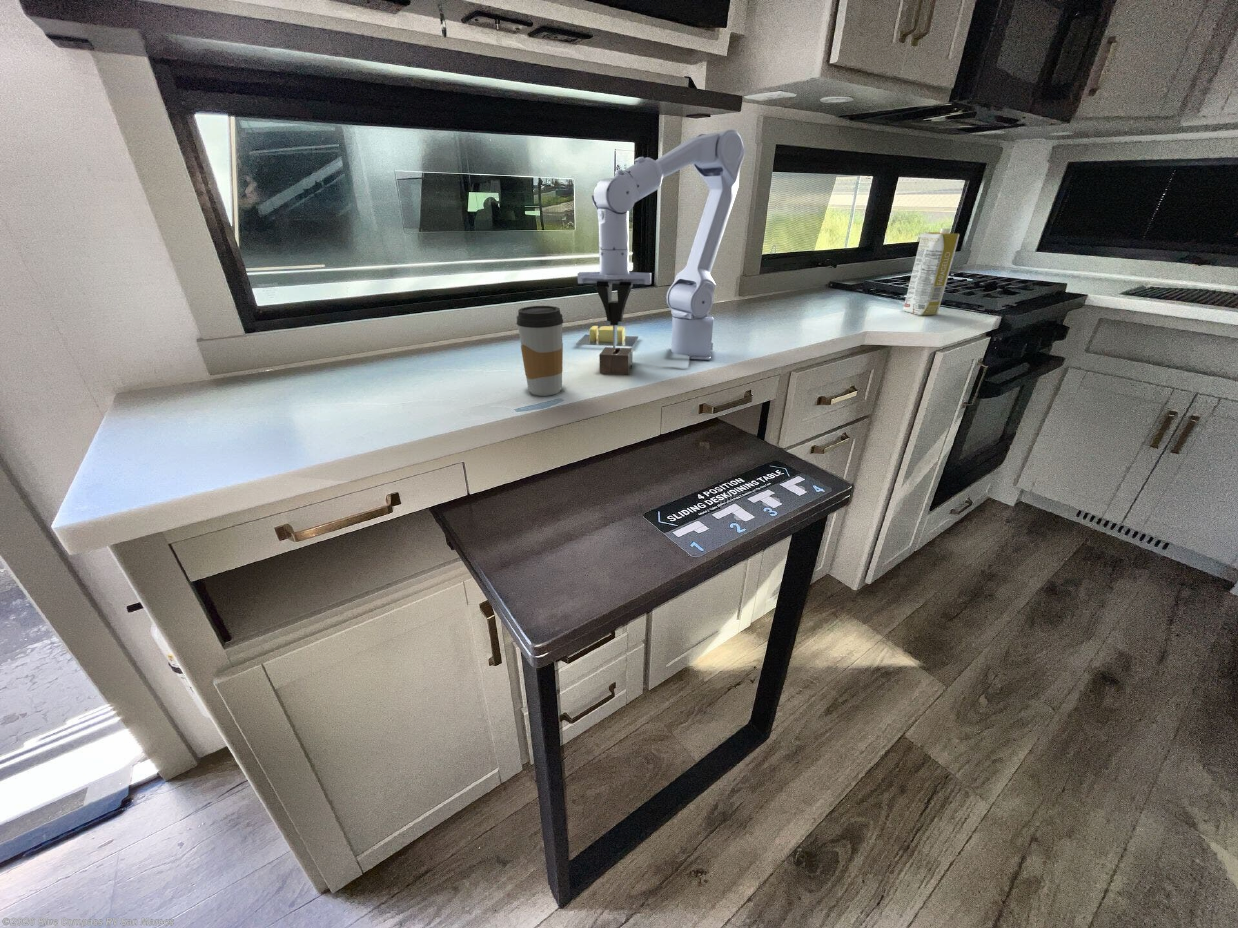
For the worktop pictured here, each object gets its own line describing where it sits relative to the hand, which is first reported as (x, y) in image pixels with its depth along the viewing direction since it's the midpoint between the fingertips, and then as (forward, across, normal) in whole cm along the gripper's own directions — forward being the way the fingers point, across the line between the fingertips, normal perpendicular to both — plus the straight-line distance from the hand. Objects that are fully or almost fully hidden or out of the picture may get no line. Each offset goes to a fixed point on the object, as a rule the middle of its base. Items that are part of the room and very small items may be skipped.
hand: (614, 320), depth 104 cm
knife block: (+10, 0, -1) cm, 10 cm away
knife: (+5, 0, 0) cm, 5 cm away
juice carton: (+10, +84, +72) cm, 111 cm away
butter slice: (+9, -9, +20) cm, 24 cm away
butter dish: (+10, -6, +20) cm, 23 cm away
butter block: (+9, -4, +20) cm, 22 cm away
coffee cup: (+10, -11, -16) cm, 22 cm away
